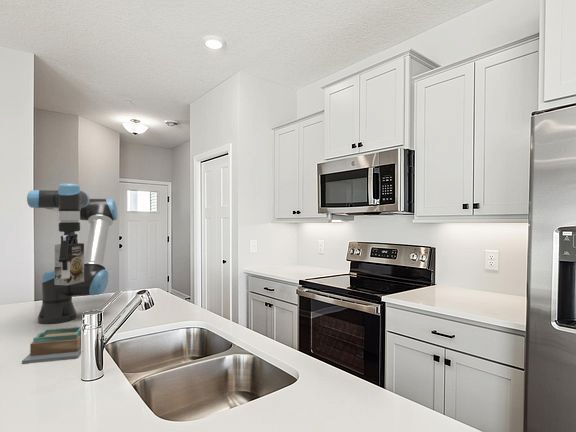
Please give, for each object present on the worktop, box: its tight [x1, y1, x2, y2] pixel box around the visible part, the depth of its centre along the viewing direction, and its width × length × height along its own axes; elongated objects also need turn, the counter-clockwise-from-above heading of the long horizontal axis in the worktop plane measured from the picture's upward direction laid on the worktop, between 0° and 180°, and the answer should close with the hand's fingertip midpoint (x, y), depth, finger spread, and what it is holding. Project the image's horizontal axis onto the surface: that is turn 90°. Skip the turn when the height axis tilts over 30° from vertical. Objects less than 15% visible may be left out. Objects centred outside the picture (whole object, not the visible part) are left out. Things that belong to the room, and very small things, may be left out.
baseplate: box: [21, 347, 82, 365], centre depth 130 cm, size 20×16×1 cm
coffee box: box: [54, 242, 85, 285], centre depth 149 cm, size 9×6×16 cm
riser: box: [29, 326, 82, 356], centre depth 130 cm, size 12×14×6 cm
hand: (69, 276), depth 149 cm, fingers closed on coffee box, 10 cm apart
